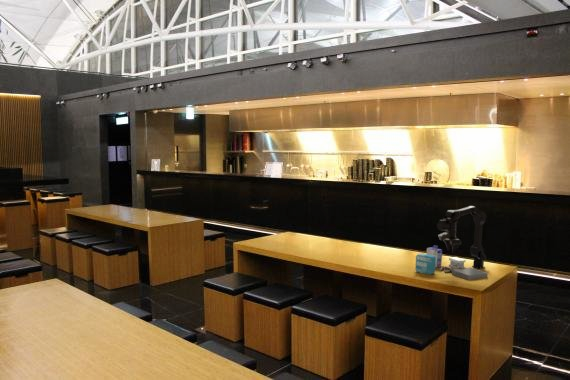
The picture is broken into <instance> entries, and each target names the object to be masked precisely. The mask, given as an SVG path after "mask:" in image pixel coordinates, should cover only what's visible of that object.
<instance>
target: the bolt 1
mask: <svg viewBox="0 0 570 380" xmlns="http://www.w3.org/2000/svg"><path fill="white" fill-rule="evenodd" d="M445 270H446V269H445V266H444V265H441V267H439V269H438V271H439V272H441V271H445Z"/></svg>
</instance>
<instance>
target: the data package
mask: <svg viewBox="0 0 570 380" xmlns="http://www.w3.org/2000/svg"><path fill="white" fill-rule="evenodd" d="M435 260H436V258H435V256H433V255H427V253H418V254H416V255H415V269H414V270H415V271H416V272H417V273H419V274H420V273H421V274H427V275H433V274H434V273H436V267H435Z"/></svg>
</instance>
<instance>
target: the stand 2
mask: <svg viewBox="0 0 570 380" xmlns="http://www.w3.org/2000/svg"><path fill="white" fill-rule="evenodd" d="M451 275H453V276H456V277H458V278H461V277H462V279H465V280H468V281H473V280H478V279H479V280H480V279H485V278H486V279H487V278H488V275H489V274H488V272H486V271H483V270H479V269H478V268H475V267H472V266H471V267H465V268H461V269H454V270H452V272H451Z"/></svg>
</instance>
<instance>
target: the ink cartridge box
mask: <svg viewBox="0 0 570 380" xmlns="http://www.w3.org/2000/svg"><path fill="white" fill-rule="evenodd" d="M426 255H433V256H435V258H436V260H435V268H441V267H442V261H443V249H441V248H439V246H438V245H435V244H434V245H433V246H432V247H427V248H426Z"/></svg>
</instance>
